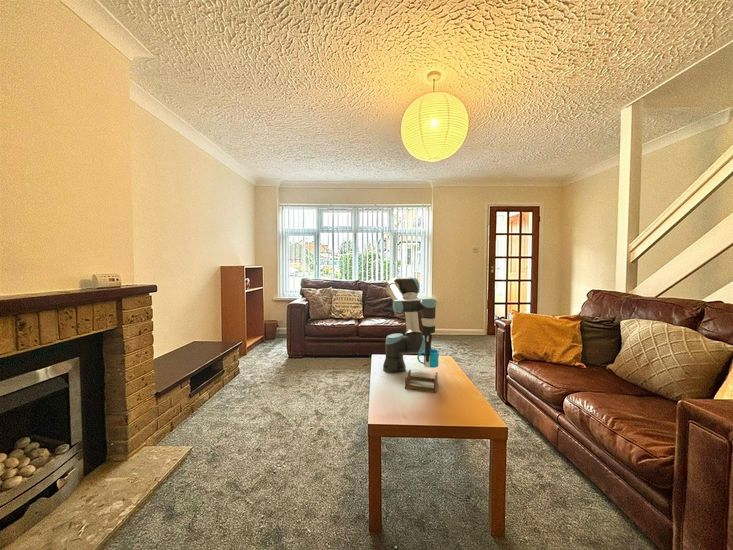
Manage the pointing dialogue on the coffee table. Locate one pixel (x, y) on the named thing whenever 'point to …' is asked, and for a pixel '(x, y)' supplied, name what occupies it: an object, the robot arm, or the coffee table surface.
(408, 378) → the tray
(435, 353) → the mug
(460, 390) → the coffee table surface
